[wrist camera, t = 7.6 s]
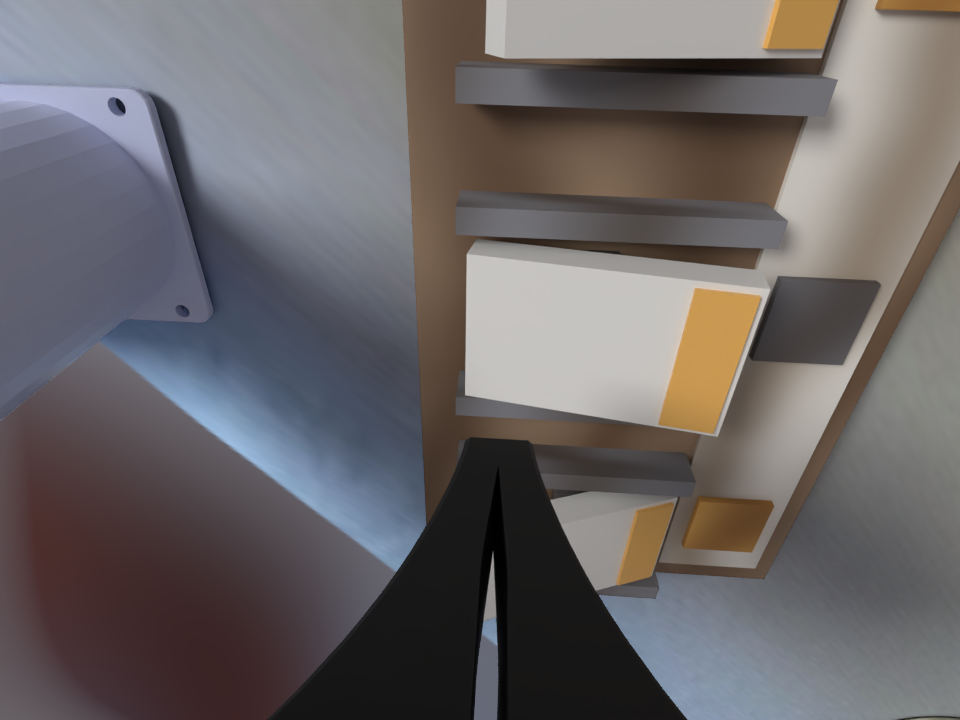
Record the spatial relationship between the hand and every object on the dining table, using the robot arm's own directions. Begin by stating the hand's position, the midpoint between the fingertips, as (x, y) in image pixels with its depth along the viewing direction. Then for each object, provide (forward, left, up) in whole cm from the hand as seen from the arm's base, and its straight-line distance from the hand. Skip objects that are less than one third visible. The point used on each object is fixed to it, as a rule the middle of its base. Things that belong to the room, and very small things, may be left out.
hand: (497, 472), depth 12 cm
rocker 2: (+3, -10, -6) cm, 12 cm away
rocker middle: (+3, 0, -6) cm, 7 cm away
